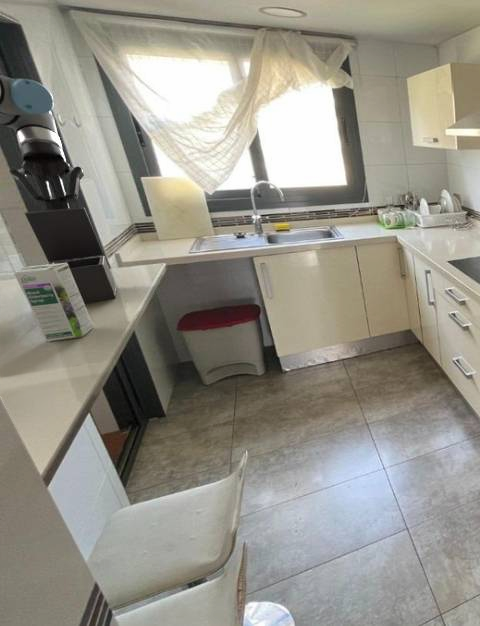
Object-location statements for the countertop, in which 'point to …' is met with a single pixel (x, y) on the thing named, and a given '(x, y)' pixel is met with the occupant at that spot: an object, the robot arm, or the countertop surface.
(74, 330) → the syrup box
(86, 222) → the lid
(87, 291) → the dark brown box
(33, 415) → the countertop surface
